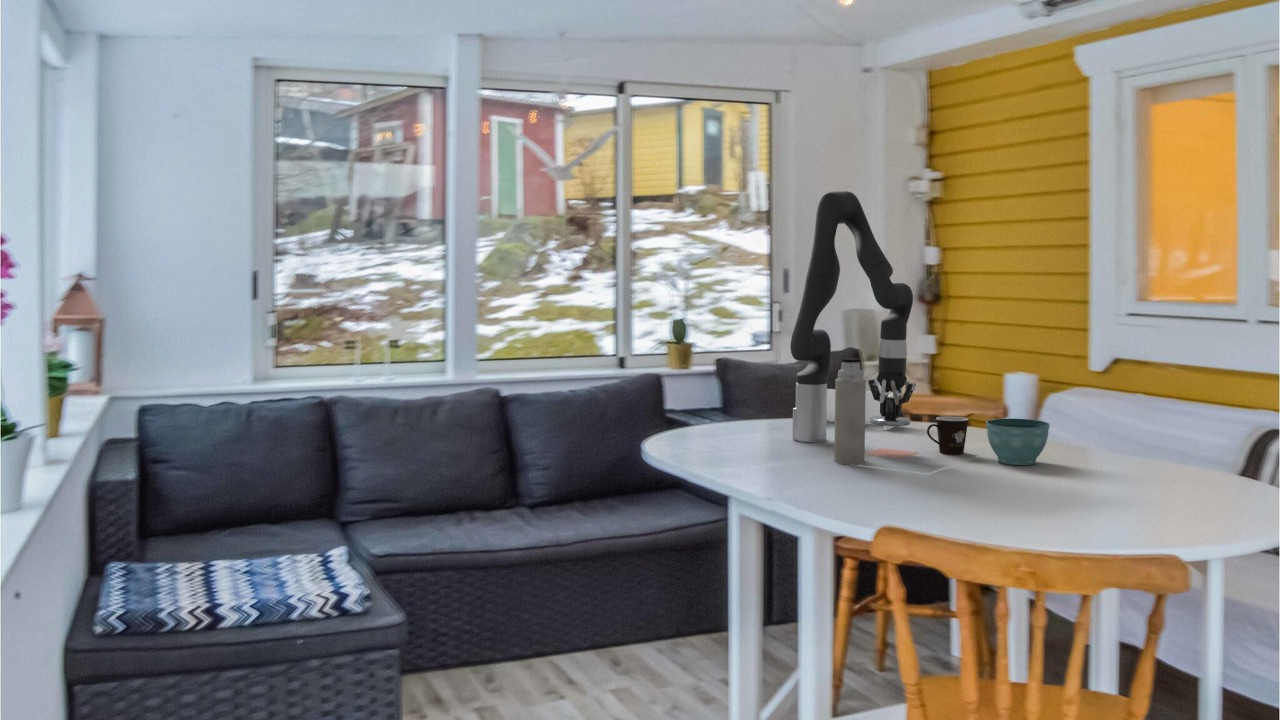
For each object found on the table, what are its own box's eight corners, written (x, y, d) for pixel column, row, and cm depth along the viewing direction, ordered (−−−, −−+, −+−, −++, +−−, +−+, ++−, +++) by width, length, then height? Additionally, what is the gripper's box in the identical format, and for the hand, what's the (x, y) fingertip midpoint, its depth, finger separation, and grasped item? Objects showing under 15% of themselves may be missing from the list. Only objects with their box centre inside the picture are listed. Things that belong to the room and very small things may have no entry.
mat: (860, 455, 319) (860, 453, 319) (880, 449, 329) (880, 448, 329) (900, 459, 312) (900, 458, 312) (919, 453, 321) (919, 452, 321)
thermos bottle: (837, 458, 314) (838, 356, 312) (866, 460, 312) (868, 357, 309) (831, 463, 307) (833, 359, 304) (862, 465, 304) (863, 360, 301)
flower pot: (1017, 470, 296) (1018, 428, 295) (972, 460, 311) (973, 420, 310) (1062, 465, 304) (1063, 424, 303) (1016, 455, 318) (1017, 416, 317)
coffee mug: (964, 451, 324) (965, 416, 323) (970, 457, 316) (971, 421, 315) (922, 451, 326) (923, 416, 325) (927, 456, 317) (927, 420, 316)
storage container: (896, 426, 374) (897, 392, 373) (886, 431, 364) (887, 396, 363) (823, 421, 386) (823, 388, 385) (811, 425, 376) (812, 392, 375)
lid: (863, 423, 319) (863, 398, 318) (881, 418, 328) (881, 393, 327) (899, 427, 312) (900, 402, 312) (917, 422, 321) (918, 397, 320)
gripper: (863, 354, 319) (861, 416, 321) (910, 358, 311) (908, 421, 313) (875, 352, 325) (873, 412, 327) (922, 356, 317) (919, 418, 318)
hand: (890, 416), depth 320 cm, fingers closed on lid, 3 cm apart
